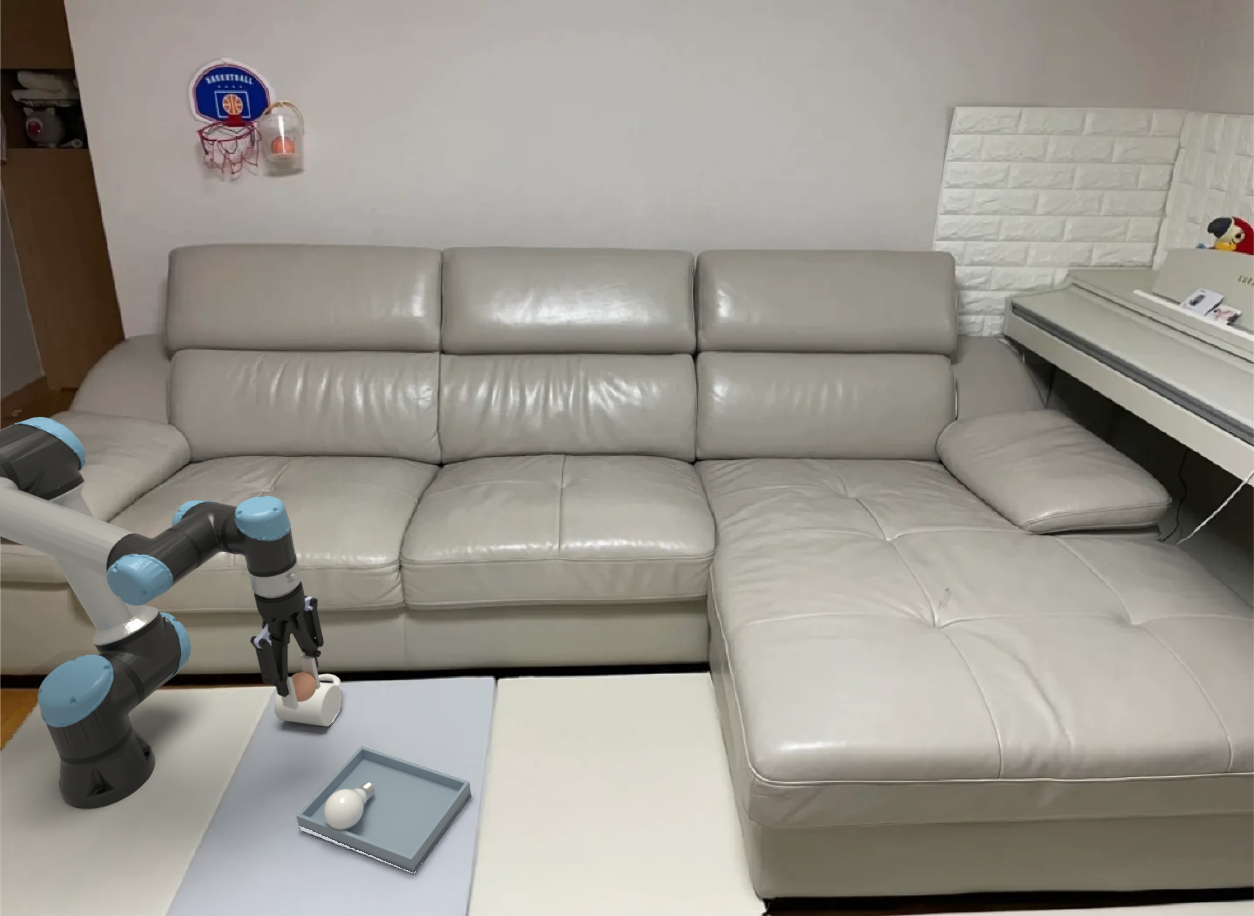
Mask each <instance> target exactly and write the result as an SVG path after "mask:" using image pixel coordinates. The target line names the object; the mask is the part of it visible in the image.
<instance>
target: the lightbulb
mask: <svg viewBox="0 0 1254 916" xmlns="http://www.w3.org/2000/svg"><path fill="white" fill-rule="evenodd" d="M374 793H375V789H374V787H373V785H372V784H371V783H368V782H366V783H364V784H362V785H361V786H360V787H358V788H356V789H353V790H351V789H341V790H338V791H336V792H334V793H333V794H332V795H331V796H330V797H329V798H328V799H327V801H326V803H325V806H324V818H325V820H326V822H327V823H328V824H329V825H330V826H331V827H332V828H334V829H339V830H345V829H349V828H351V827H353V826H354V825H355V824H356V823H357V822H358V821H359V820H360V818H361V816H362V814H363V810H364V805H365V803H366V801H367V800H368V799H369V798H371V797H372V796H373V795H374Z"/></svg>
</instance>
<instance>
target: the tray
mask: <svg viewBox="0 0 1254 916" xmlns="http://www.w3.org/2000/svg"><path fill="white" fill-rule="evenodd" d="M366 782H368V783H371V784H372V785H373V787H374V789H375V793H374V795H373V796H372V797H371V798H369V799H368V800H367V801H366V803H365V805H364V810H363V814H362V816H361V818H360V820H359V821H358V822H357V823H356V824H355V825H354V826H353V827H351V828H349V829H345V830H339V829H334V828H332V827H331V826H330V825H329V824H328V823H327V822H326V820H325V818H324V806H325V803H326V801H327V799H328V798H329V797H330V796H331V795H332V794H333V793H334V792H336V791H338V790H341V789H351V790H353V789H356V788H358V787H360V786H361V785H362V784H364V783H366ZM471 797H472V791H471V785H470V781H468V780H466V779H462V778H460V777H457V776H454V775H450V774H447V773H445V772H441V771H438V770H435V769H432V768H430V767H427V766H423V765H420V764H417V763H415V762H411V761H408V760H405V759H402V758H399V757H397V756H393V755H391V754H387V753H384V752H382V751H378V750H375V749H371V748H369V747H366V746H363V745H360V746H359V748H358V749H357V750H356V752H354V753H353V755H352V756H351V757H350V758H348V760H346V762H345V763H344V764H343V765H342V766H341V767H340V768H339V770H337V772H336V773H335V774H333V775H332V777H331V778H330V779H329V780H328V781H327V782H326V784H325V785H323V786H322V788H321V789H320V790H319V791H318V792H317V793H316V794H315V795H314V797H312V798H311V800H310V801H308V803H307V804H305V806H304V807H303V808H302V809H301V810H300V812H298V813H297V814H296V819H297V823H298V826H301V827H304V828H306V829H309V830H312V831H313V832H316V833H318V834H321V835H322V836H325V837H328V838H330V839H332V840H335V841H337V842H338V843H342V844H344V845H347V846H349V847H350V848H354V849H355V850H359V851H362V852H364V853H366V854H368V855H372V856H374V857H376V858H379V859H381V860H383V861H386V862H388V863H391V864H393V865H396V866H398V867H400V868H402V869H405V870H408V871H410V872H413V873H414V872H415V871H416V870H417V869H418V868H419V869H420V867H421V866H422V865H421V863H422V862H423V861H424V862H425V860H426V859H427V858H428V856H429V855H430V854H429V853H432V851H433V850H434V848H435V847H436V845H437V844H438V843H439V841H440V840H441V839H442V837H443V836H444V834H446V832H447V830H448V829H449V827H450V826H451V825H452V823H454V820H455V819H456V818H457V816H458V815H459V814H460V812H461V811H462V810H463V808H464V807H465V805H466V804H467V803H468V801H470V799H471ZM434 846H435V847H434ZM428 854H429V855H428ZM426 857H427V858H426ZM425 858H426V859H425ZM424 859H425V860H424ZM424 862H423V863H424ZM423 863H422V864H423ZM420 865H421V866H420ZM419 866H420V867H419ZM419 869H418V870H419ZM418 870H417V871H418ZM417 871H416V872H417Z"/></svg>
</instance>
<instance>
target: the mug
mask: <svg viewBox="0 0 1254 916" xmlns="http://www.w3.org/2000/svg"><path fill="white" fill-rule="evenodd" d="M318 677H319V681H320V686H321V687H320V688H319V689H316V691H315V693H314V695H313V696H312V697H311V698H310V699H308V700H306V701H303V702H298V706H299V707H298V708H297V709H296V710H294V709H291V708H288V707H285V706H283V702H282V698H281V696H280V695H278V693H277V692H276V695H275V700H274V708H273V709H274V714H275V717H276V718H277V719H278V720H279V721H285V722H291V723H292V722H293V723H298V724H306V725H315V726H320V727H329V726H328V725H329V724H330V723H331V722H332V720H333V718H334V717H335V715H336V714H337V713H338V711H339V710H341V707H342V701H343V695H342V690H341V686H342V685H341V679H340V678H339V677H338V676H336V675H335V674H330V673H324V674H323V673H322V674H318ZM321 681H322V682H321ZM323 681H329V682H332V683H329V682H328V683H327V682H323ZM339 712H340V711H339Z"/></svg>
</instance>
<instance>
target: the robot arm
mask: <svg viewBox="0 0 1254 916" xmlns="http://www.w3.org/2000/svg"><path fill="white" fill-rule="evenodd" d="M86 456H87V453H86V451H85V448H84V446H83V443H82V442H81V441H80V439H79V438H78V437H77V436H76V435H75V434H74V432H73V431H72V430H70V429H69V428H68V427H67V426H65V425H63V424H62V423H59V422H58V421H56V420H54V419H53V418H49V417H42V416H38V417H31V418H28V419H26V420H22V421H19V422H15V423H13V424H10V425H8V426H5V427H3V428H2V429H0V537H1V538H3V539H6V540H9V541H11V542H14V543H17V544H20V545H21V546H24V547H27V548H30V549H33V550H35V551H38V552H41V553H42V554H45V555H48V556H52V558H53V559H54V561H55V562H56V564H57V566H58V567H59V569H60V571H61V573H62V574H63V576H64V577H65V579H66V582H67V583H68V584H69V586H70V587H71V589H72V591H73V593H74V594H75V596H76V597H77V600H78V601H79V602H80V605H81V606H82V607H83V609H84V611H85V613H86V614H87V616H88V617H89V619H90V622H92V624H93V626H94V627H95V629H96V632H95V634H94V636H93V638H92V643H93V645H94V646H95V648H96V650H97V651H98V654H86V655H84V654H83V655H81V656H77V657H76V659H74V660H73V659H72V660H71V659H69V660H67V661H66V662H63V663H62V664H60V665H58V666H57V667H56V668H54V669H53V670H52V671H50V673H48V674H47V676H46V677H44V680H42V682H41V684H40V686H39V689H38V693H37V702H38V705H39V708H40V715H41V718H42V720H43V721H44V723H45V724H46V727H47V729H48V732H49V734H50V737H51V739H52V742H53V745H54V746H55V748H56V751H57V753H58V756H59V759H60V763H59V764H60V765H59V780H58V786H59V791H60V793H61V795H62V798H63V799H64V801H65V802H66V804H69V805H70V806H72V807H74V808H80V809H94V808H99V807H103V806H106V805H110V804H113V803H115V802H118V801H119V800H122V799H124V798H126V797H128V796H129V795H130V794H132V793H134V792H135V791H136V790H137V789H139V788H140V787H141V786H142V785H143V784H145V782H146V781H147V780H148V779H149V777H150V776H151V774H152V773H153V771H154V768H155V764H156V759H155V755H154V752H153V748H152V746H151V745H150V744H149V742H147V740H145V738H143V736H141V735H140V733H138V732H137V731H136V730H135V729H134V727H133V725H132V722H131V720H130V717H129V713H131V711H133V710H135V708H136V707H138V705H140V704H141V703H142V702H144V701H145V700H146V699H148V697H150V696H151V695H152V694H153V693H154V692H155V691H157V690H158V689H159V688H161V687H162V686H163V685H164V684H166V683H167V682H168V681H170V680H171V679H173V678H174V677H175V676H176V675H177V673H179V671H180V670H181V669H182V668H183V667H184V666H185V665H186V664H187V663H188V662H189V658H190V657H191V652H192V643H191V639H190V635H189V633H188V631H187V629H186V628H185V626H184V625H183V624H182V622H181V621H179V620H178V621H177V620H176V617H175V616H174V615H172V614H170V613H167V612H163V611H159V610H158V608H157V607H154V606H149V605H146V604H148V603H149V602H151V601H153V600H155V599H156V598H159V596H160V597H161V596H162V595H163V594H165V593H167V592H168V591H169V590H170V589H171V588H172V587H173V586H174V585H176V584H177V583H178V582H180V581H182V580H183V579H184V578H185V577H187V576H188V575H189V574H191V573H192V572H193V571H195V570H197V569H199V568H200V567H201V566H203V565H204V564H205V563H207V562H208V561H209V560H211V559H212V558H214V557H215V556H217V555H218V554H219V553H227V554H233V555H241V556H243V557H244V558H245V563H246V567H247V568H246V569H247V571H248V576H249V580H250V584H251V589H252V590H251V591H253V596H254V602H255V605H256V608H257V612H258V613H259V615H260V616H261V618H262V624H261V629H262V630H261V632H260V633H259V634H258V635H257V636H256V635H253V636H252V637H250V640H249V641H250V644H251V645H252V646H253V648H254V649H255V653H256V657H257V661H258V662H257V663H258V665H259V670H260V674H261V678H262V682H263V683H264V684H267V685H270V686H274V687H275V690H276V694H277V693H278V695H280V696H281V698H282V702H283V706H285V707H288V708H291V709H294V710H296V709H297V708H298V707H299V706H298V702H297V697H296V693H295V688H294V684H293V680H292V678H291V676H289V673H288V672H289V668H288V666H289V664H288V663H289V661H288V660H289V658H288V657H289V651H288V650H289V648H288V647H289V644H290V643H291V635H292V636H293V637H294V639H295V641H296V643H297V645H298V647H299V649H300V650H301V653H303V654H301V655H300V656H299V662H300V665H301V672H305V673H308V674H310V675H312V676H313V677H314V679H315V681H316V689H319V688H320V687H321V686H320V682H321V681H319V677H318V675H319V673H318V672H319V671H318V668H319V660H318V658H320V656H321V655H322V651H321V650H319V648H322V647H323V646H324V643H325V641H324V637H323V636H324V635H323V631H322V626H321V623H320V618H319V613H318V602H319V600H318V598H316V597H312V596H309V595H305V591H304V586H303V582H302V581H301V579H302V578H301V572H300V568H299V563H298V557H297V554H296V550H295V545H294V539H293V533H292V527H291V526H292V525H291V520H290V518H289V516H288V512H287V510H286V506H285V505H286V504H285V503H284V502H283V501H282V500H281V499H279V498H278V497H276V496H272V495H265V496H254V497H253V496H252V497H250V498H248V499H245V500H243V501H242V502H241V503H239V504H238V505H237V506H235V505H232V504H231V505H230V504H225V503H220V502H217V501H211V500H197V499H194V500H189V501H187V502H184V503H183V504H182V505H180V506H179V508H178V510H177V512H176V513H175V514H174V515H173V517H172V521H171V527H169V528H167V529H166V530H163V531H162V532H161V533H159V534H158V535H156V536H154V537H148V536H146V535H142V534H140V533H136V532H133V531H131V530H128V529H125V528H123V527H120V526H117V525H115V524H111V523H109V522H106V521H104V520H101V519H99V518H96V517H95V516H94V514H93V513H92V510H91V509H90V508H89V505H88V504H87V502H86V500H85V499H84V497H83V495H82V491H83V489H84V486H85V484H86V481H85V479H84V477H83V476H82V474H81V472H80V471H82V470H83V468H84V466H85V465H86V462H87V458H86Z"/></svg>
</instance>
